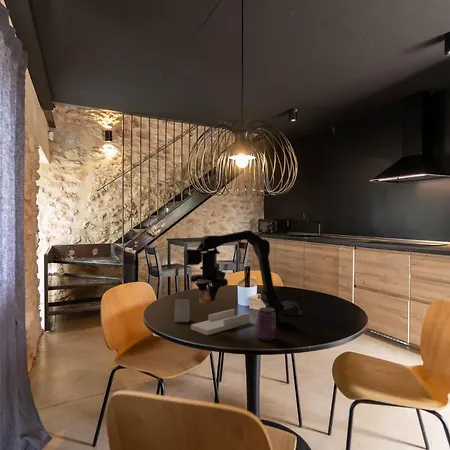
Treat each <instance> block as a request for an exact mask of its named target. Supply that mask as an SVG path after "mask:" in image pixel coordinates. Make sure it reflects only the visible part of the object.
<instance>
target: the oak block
mask: <svg viewBox="0 0 450 450" xmlns="http://www.w3.org/2000/svg"><path fill="white" fill-rule="evenodd" d="M198 299H199V301H198V303H200V304H204V305H210V304H215V303H216V298H215V299H214V301H211V297H210V292H209V289H207V290H203V291H200V290H199V293H198Z"/></svg>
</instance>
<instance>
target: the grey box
mask: <svg viewBox="0 0 450 450" xmlns="http://www.w3.org/2000/svg"><path fill="white" fill-rule="evenodd" d="M173 313H174V317H173V318H174V319H173V321H174V323H183V322H184V323H189V322H190V299H174V310H173Z"/></svg>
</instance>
